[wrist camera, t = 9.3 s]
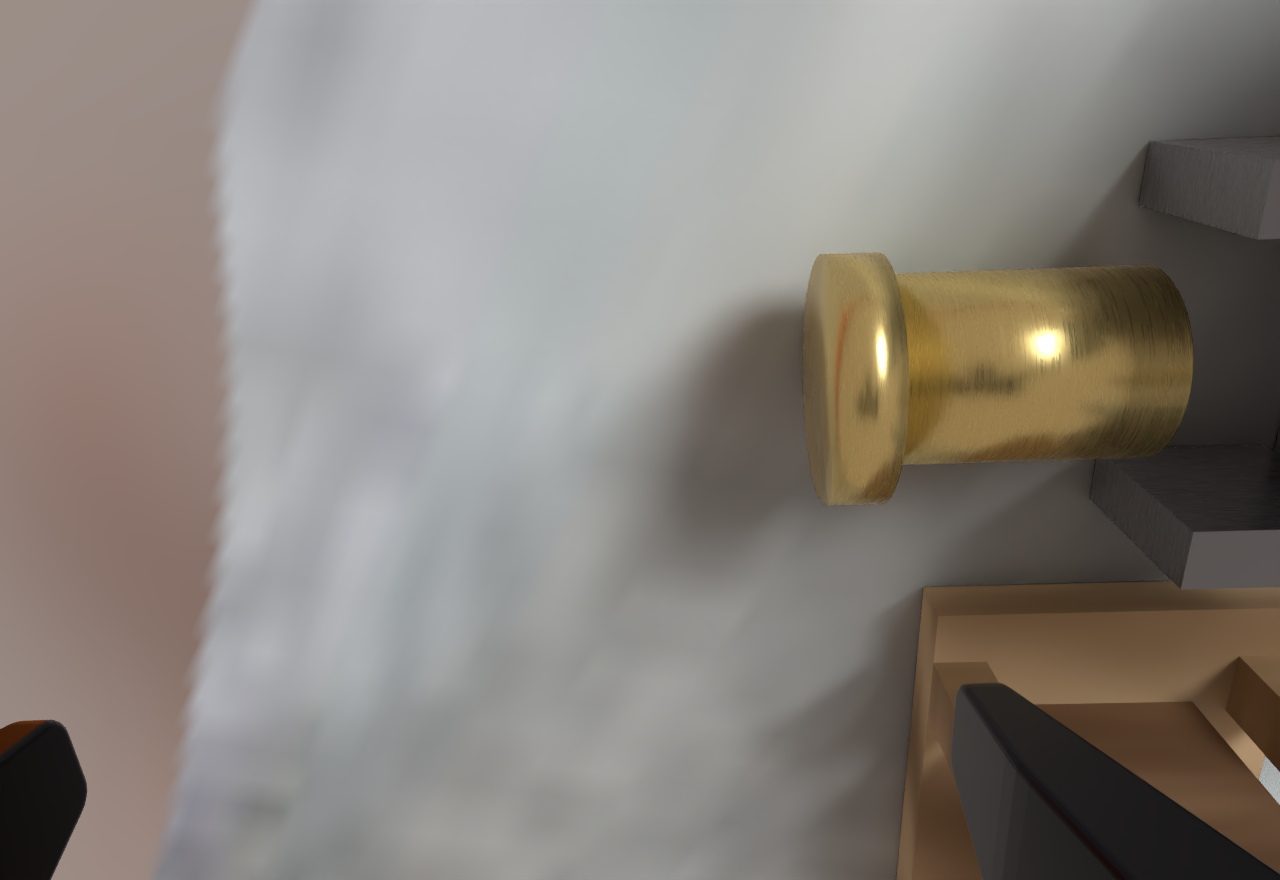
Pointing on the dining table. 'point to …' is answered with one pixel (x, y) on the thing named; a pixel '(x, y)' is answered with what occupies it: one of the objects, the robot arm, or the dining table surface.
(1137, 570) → the dining table surface
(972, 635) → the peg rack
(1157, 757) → the walnut bar
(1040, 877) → the robot arm
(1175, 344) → the brass bolt
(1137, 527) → the keeper
